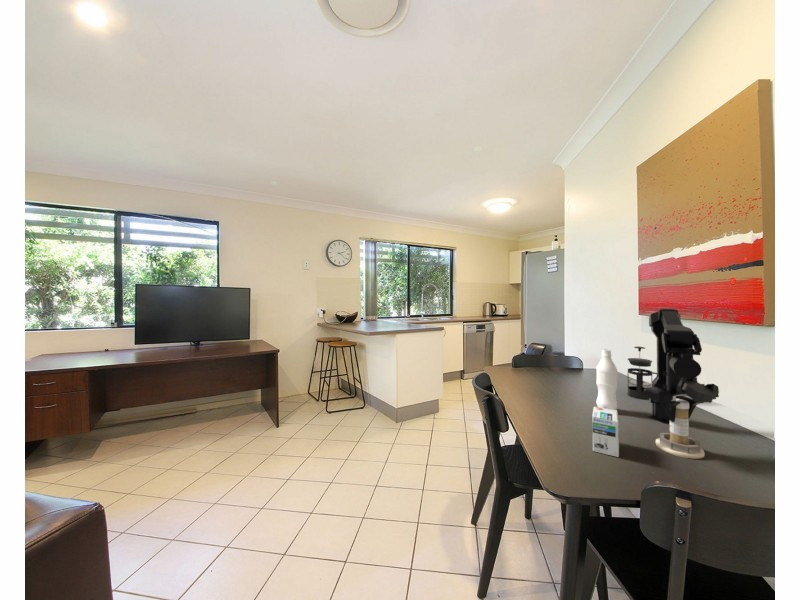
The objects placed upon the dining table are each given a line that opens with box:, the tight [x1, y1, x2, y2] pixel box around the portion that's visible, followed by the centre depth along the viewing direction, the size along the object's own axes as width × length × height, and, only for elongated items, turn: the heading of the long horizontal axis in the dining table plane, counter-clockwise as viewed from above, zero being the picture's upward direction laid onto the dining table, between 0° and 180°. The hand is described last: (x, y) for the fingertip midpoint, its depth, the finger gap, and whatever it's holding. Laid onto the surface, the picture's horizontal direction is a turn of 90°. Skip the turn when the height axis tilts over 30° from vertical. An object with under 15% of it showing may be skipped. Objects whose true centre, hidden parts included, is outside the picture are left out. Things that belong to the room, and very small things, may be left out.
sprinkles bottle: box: [669, 399, 690, 445], centre depth 93 cm, size 5×5×13 cm
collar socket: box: [655, 431, 706, 460], centre depth 93 cm, size 11×11×3 cm
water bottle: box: [595, 348, 619, 411], centre depth 123 cm, size 7×7×25 cm
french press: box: [627, 346, 657, 401], centre depth 139 cm, size 12×9×23 cm
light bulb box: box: [591, 406, 620, 458], centre depth 95 cm, size 11×7×11 cm, turn 145°
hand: (678, 420), depth 93 cm, fingers closed on sprinkles bottle, 4 cm apart
